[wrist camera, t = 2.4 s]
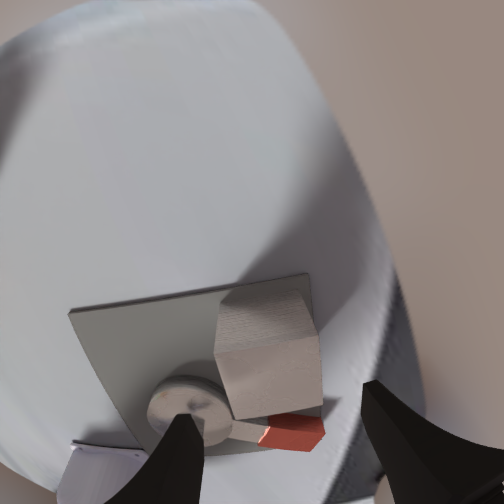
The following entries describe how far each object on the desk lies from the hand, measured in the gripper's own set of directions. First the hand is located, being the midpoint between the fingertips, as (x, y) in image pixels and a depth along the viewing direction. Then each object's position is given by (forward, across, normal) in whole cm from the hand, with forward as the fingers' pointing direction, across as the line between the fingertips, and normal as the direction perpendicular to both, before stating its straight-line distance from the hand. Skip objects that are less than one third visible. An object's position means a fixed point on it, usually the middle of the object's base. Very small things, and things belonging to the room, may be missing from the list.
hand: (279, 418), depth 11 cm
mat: (+8, +5, +5) cm, 10 cm away
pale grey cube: (+7, 0, 0) cm, 7 cm away
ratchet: (+7, +3, +8) cm, 11 cm away
